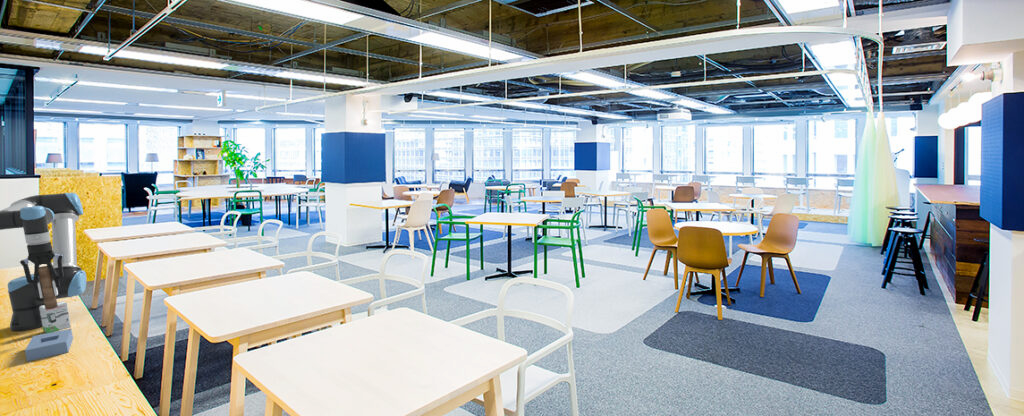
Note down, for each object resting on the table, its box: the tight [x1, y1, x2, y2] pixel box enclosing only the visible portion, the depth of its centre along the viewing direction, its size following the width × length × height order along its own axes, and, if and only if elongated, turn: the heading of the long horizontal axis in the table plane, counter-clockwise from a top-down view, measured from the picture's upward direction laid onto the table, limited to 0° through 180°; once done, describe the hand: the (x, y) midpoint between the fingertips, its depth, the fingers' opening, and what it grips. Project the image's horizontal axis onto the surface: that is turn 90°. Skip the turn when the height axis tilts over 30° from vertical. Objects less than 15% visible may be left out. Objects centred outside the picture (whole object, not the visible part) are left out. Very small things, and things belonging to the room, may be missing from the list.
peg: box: [38, 265, 58, 309], centre depth 213 cm, size 4×4×18 cm
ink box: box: [39, 300, 72, 334], centre depth 224 cm, size 9×5×12 cm, turn 147°
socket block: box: [24, 328, 74, 362], centre depth 202 cm, size 18×12×4 cm, turn 37°
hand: (49, 295), depth 214 cm, fingers closed on peg, 4 cm apart
